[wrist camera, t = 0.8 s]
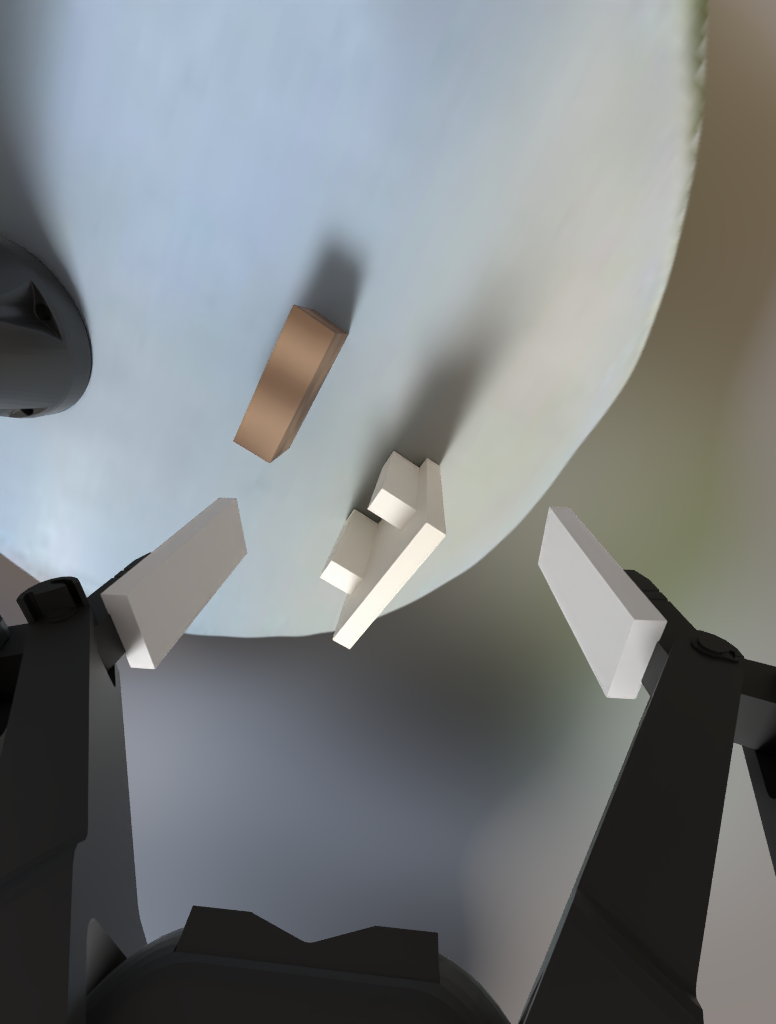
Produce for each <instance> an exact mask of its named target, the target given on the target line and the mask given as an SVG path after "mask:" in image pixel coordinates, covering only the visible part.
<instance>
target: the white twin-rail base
mask: <svg viewBox="0 0 776 1024" xmlns="http://www.w3.org/2000/svg"><path fill="white" fill-rule="evenodd" d="M368 510H370V511H371V512H373V513H374V514H376V515H378V516H379V517H381V518H382V520H381V521H380V522H379V524H378V523H376V522H374V521H373V520H371V519H370V518H368V517H366V516H365V515H363V514H362V513H360V512H358V511H357V510H355V509H354V510H353V511H352V513H351V514H350V516H349V517H348V519H347V520H346V522H345V523H344V525H343V527H342V530H341V532H340V534H339V536H338V538H337V541H336V543H335V545H334V547H333V549H332V551H331V554H330V556H329V558H328V560H327V562H326V565H325V567H324V569H323V571H322V573H321V576H320V578H322V579H324V580H325V581H327V582H329V583H330V584H332V585H334V586H336V587H337V588H339V589H341V590H343V591H344V592H346V593H347V596H346V599H345V602H344V605H343V608H342V611H341V614H340V618H339V621H338V624H337V627H336V630H335V633H334V637H333V640H334V641H336V642H338V643H339V644H341V645H343V646H345V647H347V648H349V649H350V648H351V647H352V646H353V644H354V643H355V642H356V641H357V640H358V639H359V637H360V636H361V635H362V634H363V633H364V632H365V630H366V629H367V628H368V627H369V625H370V624H371V623H372V622H373V621H374V620H375V619H376V617H377V616H378V615H379V614H380V613H381V611H382V610H383V609H384V608H385V607H386V606H387V604H388V603H389V602H390V601H391V600H392V598H393V597H394V596H395V595H396V594H397V593H398V591H399V590H400V589H401V588H402V587H403V585H404V584H405V583H406V582H407V581H408V580H409V578H410V577H411V576H412V575H413V574H414V572H415V571H416V570H417V569H418V568H419V567H420V565H421V564H422V563H423V562H424V561H425V560H426V558H427V557H428V556H429V555H430V554H431V552H432V551H433V550H434V549H435V548H436V547H437V545H438V544H439V543H440V542H441V541H442V539H443V538H444V537H445V536H446V528H445V517H444V507H443V496H442V485H441V475H440V466H439V465H437V464H436V463H434V462H433V461H431V460H430V459H428V458H426V460H425V461H424V462H423V464H422V465H421V466H420V468H419V467H417V466H416V465H414V464H413V463H411V462H410V461H408V460H407V459H405V458H404V457H402V456H401V455H399V454H398V453H396V452H395V451H393V453H392V454H391V455H390V457H389V458H388V460H387V461H386V463H385V464H384V466H383V467H382V470H381V473H380V476H379V478H378V481H377V484H376V487H375V490H374V492H373V495H372V498H371V501H370V503H369V506H368Z"/></svg>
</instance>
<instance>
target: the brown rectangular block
mask: <svg viewBox="0 0 776 1024" xmlns="http://www.w3.org/2000/svg"><path fill="white" fill-rule="evenodd" d="M347 336H348V334H347V333H346V332H344V331H343V330H341V329H340V328H339V327H337V326H336V325H334V324H333V323H331V322H330V321H328V320H327V319H326V318H324V317H323V316H321V315H320V314H318V313H317V312H315V311H314V310H312V309H308V308H304V307H301V306H297V305H293V307H292V309H291V311H290V314H289V316H288V318H287V320H286V323H285V325H284V327H283V329H282V332H281V334H280V336H279V339H278V341H277V343H276V345H275V348H274V350H273V352H272V354H271V357H270V359H269V361H268V363H267V366H266V368H265V370H264V372H263V375H262V377H261V379H260V382H259V384H258V386H257V388H256V391H255V393H254V395H253V397H252V400H251V402H250V404H249V406H248V409H247V411H246V413H245V416H244V418H243V420H242V422H241V425H240V427H239V429H238V431H237V434H236V436H235V438H234V440H233V441H234V442H235V443H237V444H239V445H240V446H242V447H244V448H245V449H247V450H249V451H250V452H252V453H254V454H255V455H257V456H259V457H260V458H262V459H263V460H265V461H267V462H268V463H271V462H272V461H273V460H274V459H276V458H277V457H278V456H280V455H281V454H282V453H284V452H285V451H286V450H287V449H289V448H290V446H291V444H292V442H293V440H294V438H295V436H296V434H297V432H298V430H299V428H300V426H301V424H302V423H303V421H304V419H305V417H306V415H307V413H308V411H309V409H310V407H311V405H312V403H313V401H314V399H315V398H316V396H317V394H318V392H319V390H320V388H321V386H322V384H323V382H324V380H325V378H326V376H327V374H328V373H329V371H330V369H331V367H332V365H333V363H334V361H335V359H336V357H337V355H338V353H339V351H340V349H341V348H342V346H343V344H344V342H345V340H346V338H347Z"/></svg>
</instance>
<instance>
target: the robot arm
mask: <svg viewBox="0 0 776 1024" xmlns="http://www.w3.org/2000/svg"><path fill="white" fill-rule="evenodd" d="M90 371H91V353H90V345H89V341H88V336H87V333H86V329H85V327H84V324H83V321H82V319H81V316H80V314H79V312H78V310H77V308H76V306H75V304H74V303H73V301H72V299H71V298H70V296H69V294H68V293H67V291H66V290H65V289H64V287H63V286H62V284H61V283H60V282H59V281H58V279H57V278H56V277H55V276H54V275H53V274H52V273H51V271H50V270H49V269H48V268H47V267H46V266H45V265H44V264H43V263H41V262H40V261H39V260H38V259H37V258H36V257H34V256H33V255H32V254H30V253H29V252H28V251H26V250H25V249H23V248H22V247H20V246H18V245H17V244H15V243H13V242H11V241H9V240H7V239H5V238H2V237H0V416H4V417H13V418H34V417H40V416H45V415H50V414H55V413H59V412H62V411H64V410H67V409H68V408H70V407H71V406H73V405H74V404H75V403H76V402H77V401H78V400H79V399H80V398H81V396H82V395H83V393H84V391H85V389H86V387H87V385H88V381H89V377H90ZM246 554H247V549H246V544H245V539H244V534H243V529H242V524H241V519H240V514H239V509H238V504H237V499H236V498H218V499H217V500H216V501H215V502H213V503H212V504H211V505H210V506H209V507H207V508H206V509H205V510H204V511H202V512H201V513H200V514H199V515H197V516H196V517H195V518H194V519H192V520H191V521H190V522H189V523H188V524H186V525H185V526H184V527H183V528H181V529H180V530H179V531H178V532H176V533H175V534H174V535H173V536H171V537H170V538H169V539H168V540H167V541H165V542H164V543H163V544H162V545H160V546H159V547H158V548H157V549H155V550H154V551H153V552H152V553H151V552H150V553H148V554H146V555H144V556H142V557H140V558H138V559H136V560H134V561H133V562H132V563H130V564H129V565H128V566H127V567H125V568H124V570H123V571H120V572H119V573H118V574H117V575H115V576H114V578H111V579H110V580H109V581H108V582H106V583H105V584H104V585H103V586H101V587H100V588H99V589H98V590H96V591H95V592H94V593H92V594H91V595H90V596H89V597H86V595H85V593H84V591H83V588H82V586H81V584H80V582H79V580H78V578H75V577H59V578H54V579H50V580H47V581H44V582H41V583H38V584H37V585H34V586H33V587H31V588H28V589H27V590H26V591H25V592H23V593H22V594H20V595H19V597H18V598H17V600H16V601H17V603H18V604H19V606H20V608H21V610H22V612H23V614H24V615H25V617H26V619H27V621H28V624H22V625H16V626H10V627H7V625H6V624H5V622H4V620H3V618H2V617H1V616H0V1024H511V1023H510V1022H509V1020H508V1019H507V1017H506V1016H505V1015H504V1013H503V1012H502V1010H501V1009H500V1007H499V1006H498V1004H497V1003H496V1002H495V1000H494V999H493V998H492V997H491V996H490V994H489V993H488V992H487V991H486V990H485V989H484V987H483V986H482V985H481V984H480V983H479V982H478V981H477V980H476V979H475V978H474V977H473V976H472V975H471V974H470V973H469V972H467V971H466V970H465V969H464V968H462V967H461V966H459V965H458V964H457V963H455V962H454V961H453V960H451V959H449V958H447V957H445V956H444V955H442V954H440V953H438V933H435V932H426V931H416V930H407V929H399V928H390V927H380V926H374V927H370V928H366V929H362V930H359V931H355V932H351V933H347V934H343V935H340V936H336V937H332V938H328V939H325V940H321V941H317V942H313V943H307V942H304V941H301V940H300V939H298V938H296V937H294V936H293V935H291V934H289V933H287V932H285V931H284V930H282V929H280V928H278V927H276V926H275V925H273V924H271V923H269V922H268V921H266V920H264V919H262V918H260V917H259V916H257V915H255V914H253V913H252V912H246V911H237V910H228V909H219V908H210V907H201V906H193V907H192V910H191V912H190V915H189V917H188V920H187V922H186V925H185V927H184V928H181V929H178V930H175V931H173V932H171V933H168V934H166V935H164V936H161V937H160V938H158V939H156V940H154V941H153V942H151V943H149V944H147V942H146V938H145V934H144V931H143V927H142V924H141V921H140V916H139V910H138V901H137V888H136V876H135V863H134V851H133V838H132V826H131V813H130V801H129V788H128V775H127V762H126V750H125V738H124V724H123V712H122V699H121V687H120V675H119V670H118V668H117V665H116V662H117V661H118V660H119V659H120V658H121V656H122V655H123V654H124V653H125V654H126V656H127V659H128V661H129V664H130V666H131V667H133V668H150V669H155V668H156V667H157V666H158V664H159V663H160V662H161V661H162V659H163V658H164V657H165V656H166V654H167V653H168V651H170V649H171V648H172V647H173V646H174V644H175V643H176V642H177V641H178V639H179V638H180V637H181V636H182V634H183V633H184V632H185V631H186V629H187V628H188V627H189V626H190V624H191V623H192V622H193V620H194V619H195V618H196V617H197V615H198V614H199V613H200V612H201V610H202V609H203V608H204V607H205V605H206V604H207V603H208V602H209V600H210V599H211V598H212V597H213V595H214V594H215V593H216V592H217V590H218V589H219V588H220V587H221V585H222V584H223V583H224V581H225V580H226V579H227V578H228V576H229V575H230V574H231V573H232V571H233V570H234V569H235V568H236V566H237V565H238V564H239V563H240V561H241V560H242V559H243V558H244V556H245V555H246ZM538 565H539V567H540V569H541V571H542V573H543V575H544V576H545V578H546V580H547V582H548V584H549V586H550V588H551V590H552V592H553V594H554V596H555V598H556V600H557V602H558V604H559V605H560V608H561V610H562V612H563V614H564V616H565V617H566V619H567V621H568V623H569V625H570V627H571V629H572V631H573V633H574V635H575V637H576V639H577V641H578V643H579V645H580V647H581V649H582V651H583V653H584V654H585V656H586V658H587V660H588V662H589V664H590V666H591V668H592V670H593V672H594V674H595V676H596V678H597V680H598V682H599V684H600V686H601V687H602V690H603V691H604V693H605V695H606V697H610V698H627V699H636V696H637V694H638V692H639V689H640V687H641V684H643V685H644V687H645V689H646V690H647V692H648V693H649V695H650V696H651V697H650V699H649V701H648V704H647V706H646V708H645V710H644V713H643V715H642V717H641V720H640V722H639V726H638V728H637V731H636V733H635V736H634V738H633V741H632V743H631V746H630V748H629V751H628V753H627V755H626V758H625V761H624V763H623V765H622V768H621V770H620V773H619V775H618V778H617V781H616V783H615V785H614V788H613V790H612V793H611V795H610V798H609V800H608V803H607V805H606V808H605V810H604V813H603V815H602V817H601V820H600V822H599V825H598V827H597V830H596V832H595V835H594V837H593V840H592V842H591V845H590V847H589V850H588V852H587V855H586V857H585V860H584V862H583V865H582V867H581V870H580V872H579V875H578V877H577V879H576V883H575V885H574V887H573V889H572V892H571V894H570V897H569V900H568V902H567V904H566V907H565V909H564V912H563V914H562V917H561V919H560V922H559V924H558V927H557V929H556V932H555V934H554V936H553V939H552V942H551V944H550V947H549V949H548V951H547V954H546V956H545V959H544V961H543V964H542V966H541V968H540V971H539V973H538V976H537V978H536V981H535V983H534V985H533V987H532V990H531V992H530V995H529V997H528V1000H527V1002H526V1004H525V1007H524V1009H523V1012H522V1014H521V1017H520V1019H519V1022H518V1024H704V1021H703V1010H702V1008H701V1006H700V1004H699V1002H698V1001H697V999H696V982H697V973H698V967H699V961H700V955H701V948H702V941H703V935H704V928H705V922H706V916H707V909H708V902H709V896H710V890H711V884H712V877H713V871H714V864H715V857H716V852H717V845H718V839H719V832H720V826H721V819H722V813H723V806H724V799H725V794H726V787H727V780H728V774H729V768H730V761H731V755H732V748H733V742H734V743H737V744H740V745H742V747H743V751H744V755H745V759H746V763H747V766H748V770H749V774H750V778H751V782H752V786H753V790H754V794H755V798H756V801H757V805H758V809H759V813H760V817H761V821H762V824H763V829H764V832H765V836H766V840H767V844H768V848H769V851H770V856H771V859H772V863H773V867H774V871H775V875H776V667H775V666H771V665H767V664H763V663H759V662H755V661H751V660H747V659H744V656H743V655H742V654H741V653H740V652H739V650H738V649H737V648H735V647H734V646H733V645H731V644H730V643H729V642H727V641H726V640H724V639H722V638H720V637H718V636H716V635H713V634H710V633H707V632H704V631H700V630H696V629H695V628H694V627H693V626H692V625H691V624H690V623H689V622H688V621H687V620H686V618H684V616H683V615H682V614H681V613H680V612H679V611H678V610H677V609H676V608H675V607H674V606H673V604H672V603H671V602H669V601H668V600H667V598H666V597H665V596H664V595H663V594H662V593H661V592H659V590H658V589H657V587H656V586H655V585H654V584H653V583H652V582H651V581H650V580H649V579H647V578H646V577H644V576H643V575H641V574H639V573H638V572H636V571H635V570H623V569H622V568H621V567H620V566H619V565H618V563H617V562H616V561H615V560H614V559H613V558H612V557H611V555H610V554H609V553H608V552H607V551H606V550H605V548H604V547H603V546H602V545H601V544H600V543H599V541H598V540H597V539H596V538H595V537H594V536H593V535H592V533H591V532H590V531H589V530H588V529H587V527H586V526H585V525H584V524H583V523H582V522H581V521H580V519H579V518H578V517H577V516H576V515H575V514H574V512H573V511H572V510H571V509H570V508H569V507H549V512H548V516H547V521H546V527H545V532H544V536H543V542H542V547H541V551H540V557H539V561H538Z"/></svg>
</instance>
